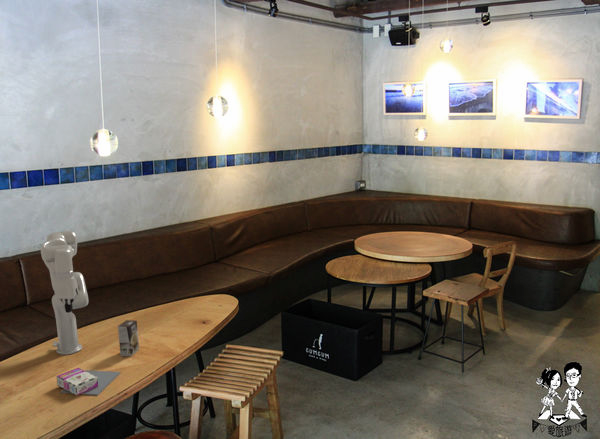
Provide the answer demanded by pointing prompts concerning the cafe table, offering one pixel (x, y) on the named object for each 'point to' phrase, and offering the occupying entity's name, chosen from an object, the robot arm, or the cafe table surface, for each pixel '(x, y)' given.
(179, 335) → the cafe table surface
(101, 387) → the mat
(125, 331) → the coffee box
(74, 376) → the candy bar box
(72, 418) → the cafe table surface
